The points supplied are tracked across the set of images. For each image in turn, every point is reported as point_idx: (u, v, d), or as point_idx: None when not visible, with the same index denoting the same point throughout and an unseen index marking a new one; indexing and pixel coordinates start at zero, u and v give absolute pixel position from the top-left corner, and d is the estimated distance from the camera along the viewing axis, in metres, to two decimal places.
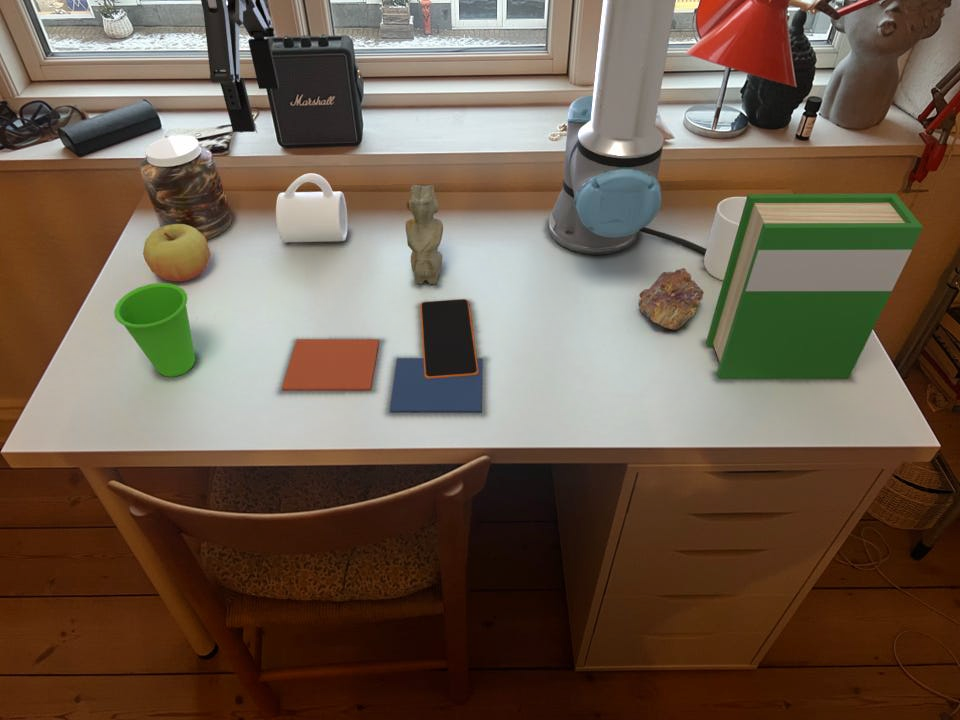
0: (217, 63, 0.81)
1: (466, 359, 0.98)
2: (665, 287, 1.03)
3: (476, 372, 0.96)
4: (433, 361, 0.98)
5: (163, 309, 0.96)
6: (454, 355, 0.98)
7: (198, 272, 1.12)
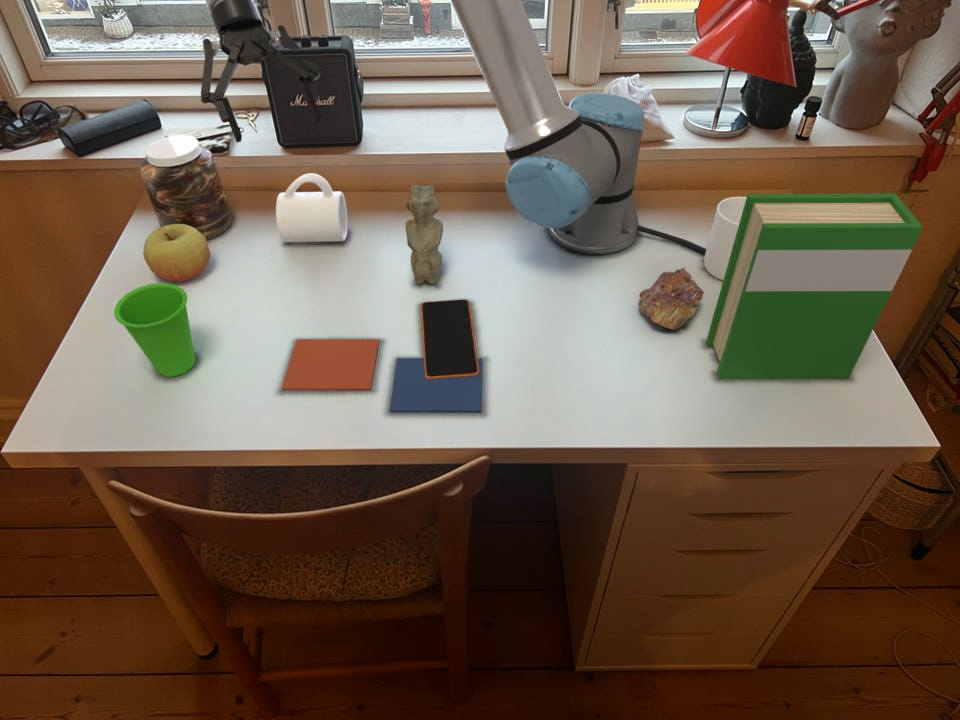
0: None
1: (467, 359, 0.98)
2: (665, 287, 1.03)
3: (477, 372, 0.96)
4: (434, 361, 0.98)
5: (163, 309, 0.96)
6: (455, 355, 0.98)
7: (198, 272, 1.12)
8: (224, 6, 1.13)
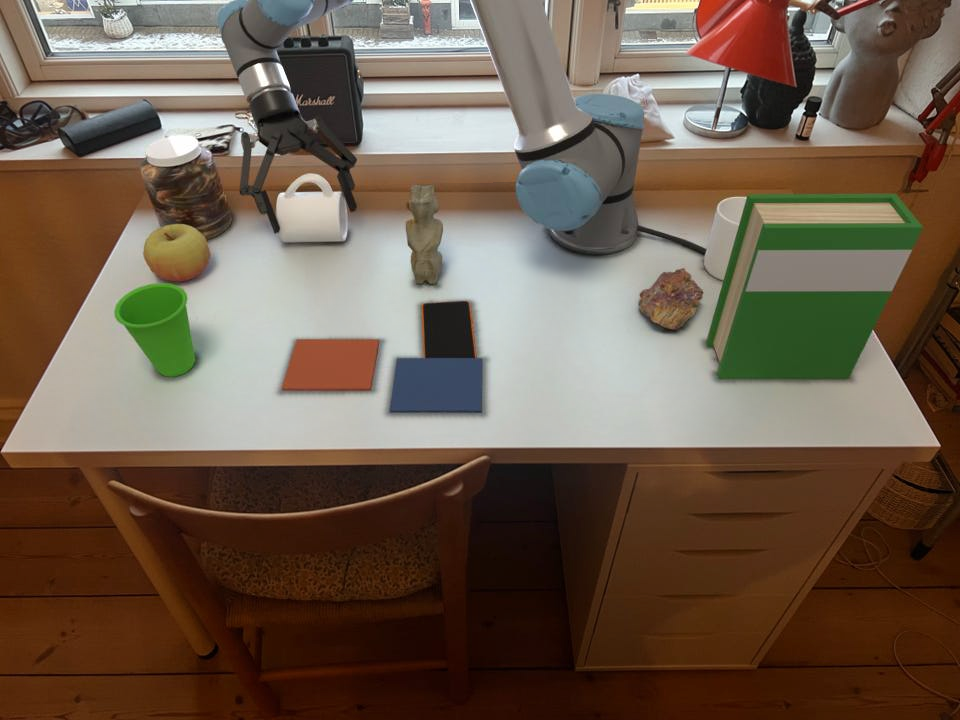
0: None
1: None
2: (665, 287, 1.03)
3: None
4: None
5: (163, 309, 0.96)
6: (454, 357, 0.99)
7: (198, 272, 1.12)
8: (262, 99, 1.12)
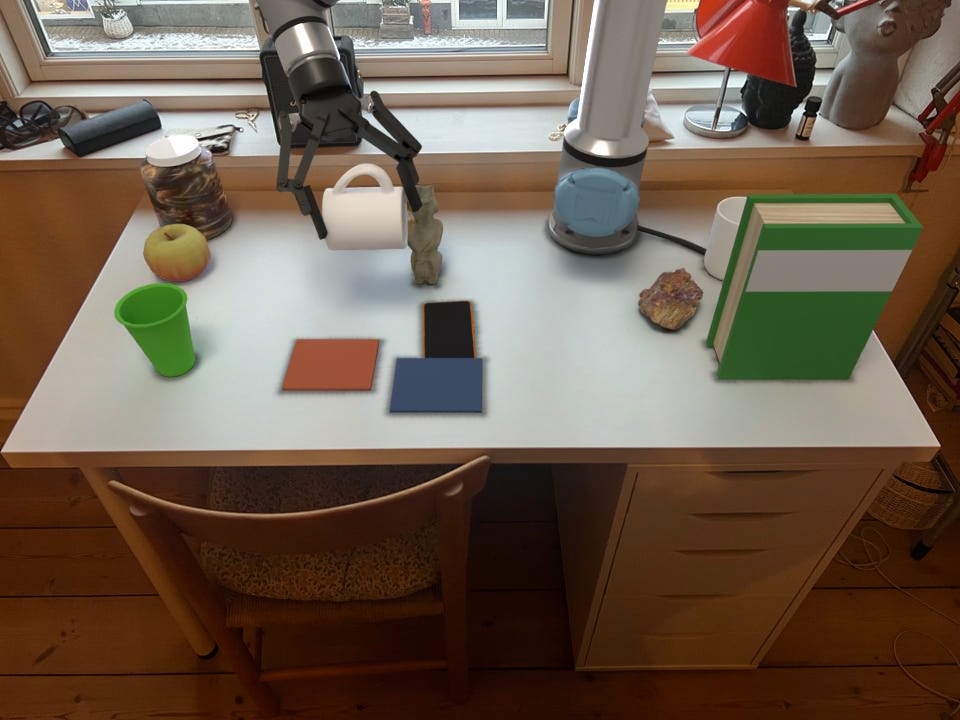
0: None
1: None
2: (665, 287, 1.03)
3: None
4: None
5: (163, 309, 0.96)
6: (454, 357, 0.99)
7: (198, 272, 1.12)
8: (306, 70, 0.88)
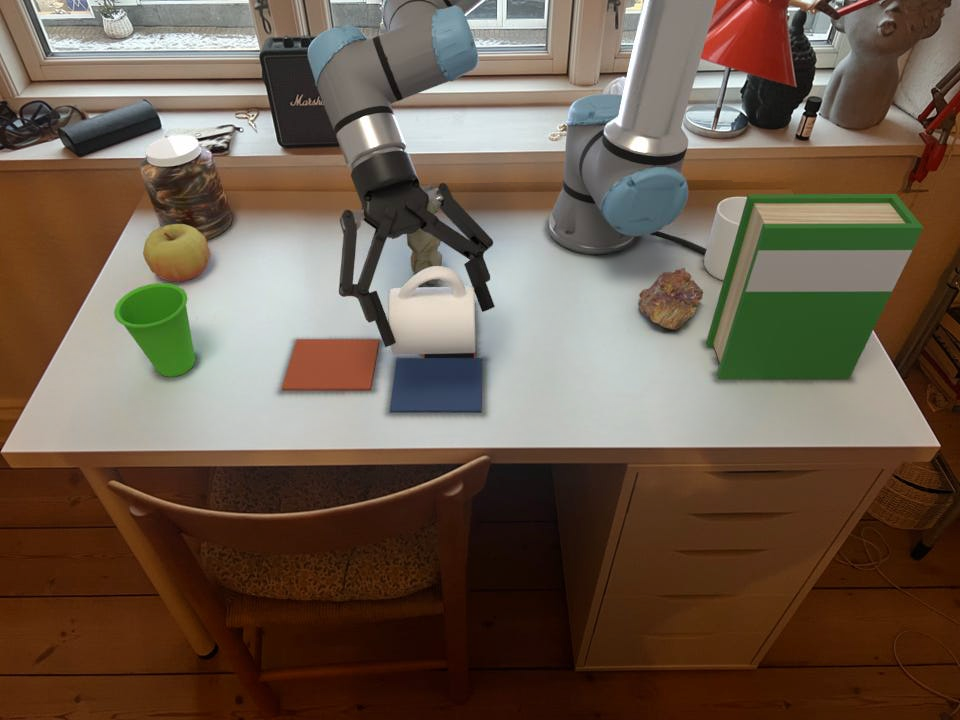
0: (340, 277, 0.82)
1: None
2: (665, 287, 1.03)
3: None
4: None
5: (163, 309, 0.96)
6: (453, 357, 0.99)
7: (198, 272, 1.12)
8: (373, 165, 0.81)
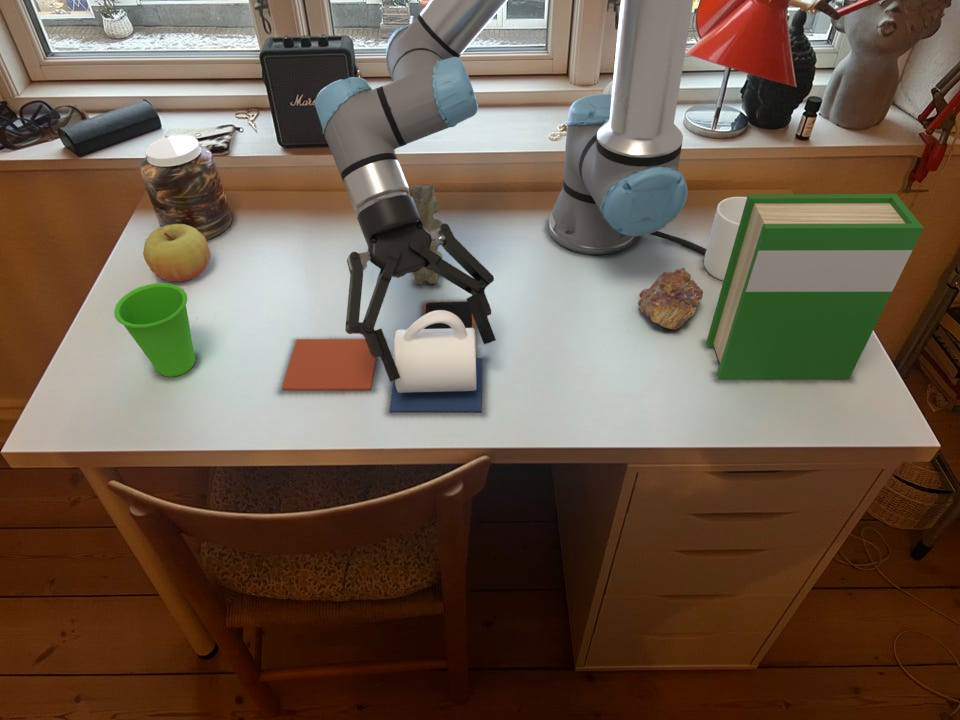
0: (347, 316, 0.86)
1: None
2: (665, 287, 1.03)
3: None
4: None
5: (163, 309, 0.96)
6: None
7: (198, 272, 1.12)
8: (378, 210, 0.85)
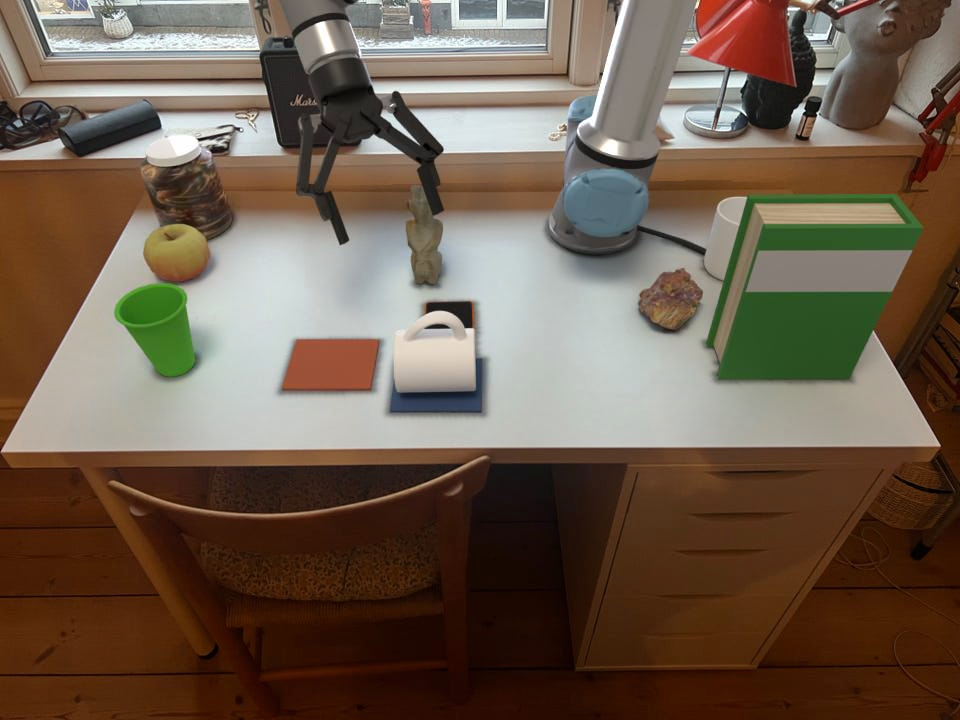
0: (298, 177, 0.87)
1: None
2: (664, 287, 1.03)
3: None
4: None
5: (163, 309, 0.96)
6: None
7: (198, 272, 1.12)
8: (329, 71, 0.86)
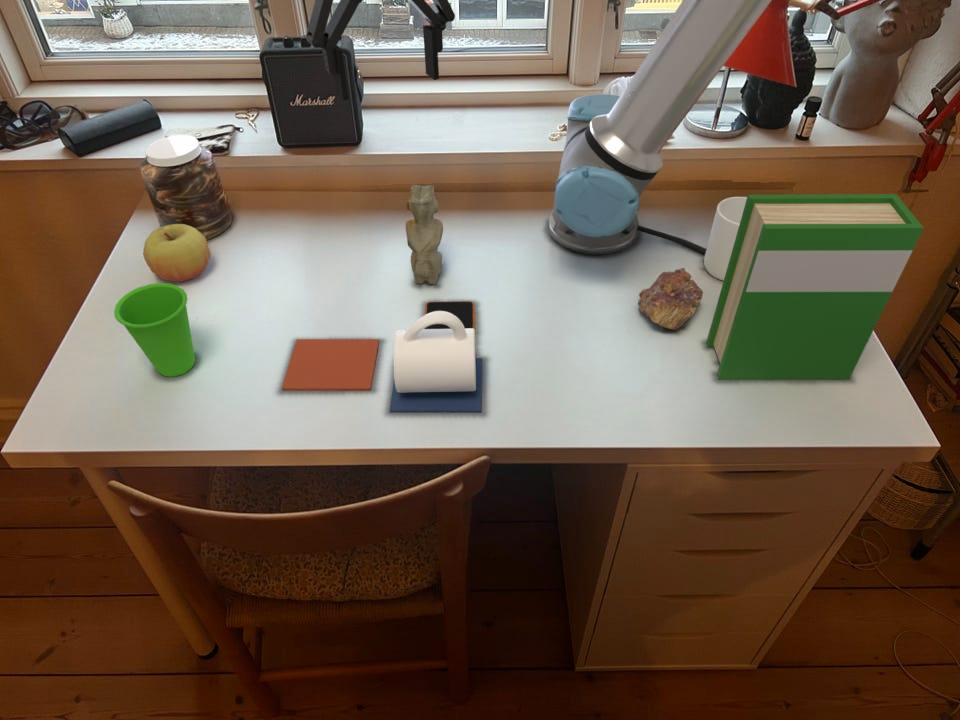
0: (311, 26, 0.88)
1: None
2: (664, 287, 1.03)
3: None
4: None
5: (163, 309, 0.96)
6: None
7: (198, 272, 1.12)
8: None
